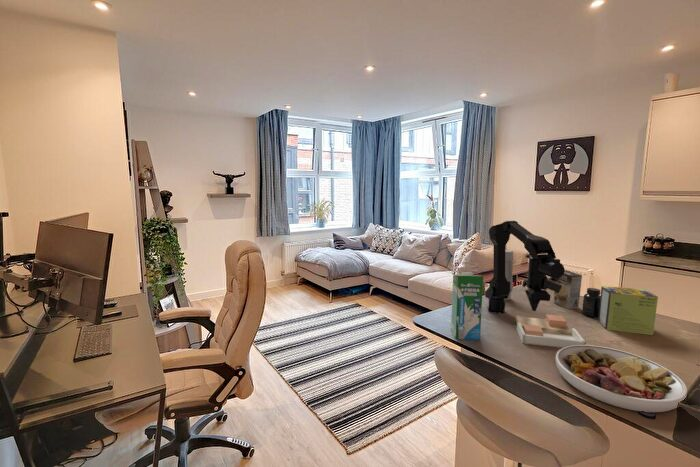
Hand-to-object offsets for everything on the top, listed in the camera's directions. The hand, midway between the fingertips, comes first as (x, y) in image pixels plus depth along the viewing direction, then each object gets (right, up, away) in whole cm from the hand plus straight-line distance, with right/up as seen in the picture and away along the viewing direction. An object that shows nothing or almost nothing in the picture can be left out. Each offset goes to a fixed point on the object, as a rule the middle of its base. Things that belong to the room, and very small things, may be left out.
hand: (533, 310), depth 132 cm
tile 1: (-1, -9, 0) cm, 9 cm away
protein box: (+40, -9, +7) cm, 42 cm away
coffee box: (+33, -5, +32) cm, 46 cm away
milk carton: (-26, -10, +1) cm, 28 cm away
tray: (+4, -10, -4) cm, 11 cm away
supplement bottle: (+36, -7, +20) cm, 41 cm away
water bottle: (+7, -4, +41) cm, 42 cm away
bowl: (+6, -15, -31) cm, 35 cm away
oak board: (+7, -9, +7) cm, 13 cm away
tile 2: (+12, -7, +6) cm, 15 cm away
